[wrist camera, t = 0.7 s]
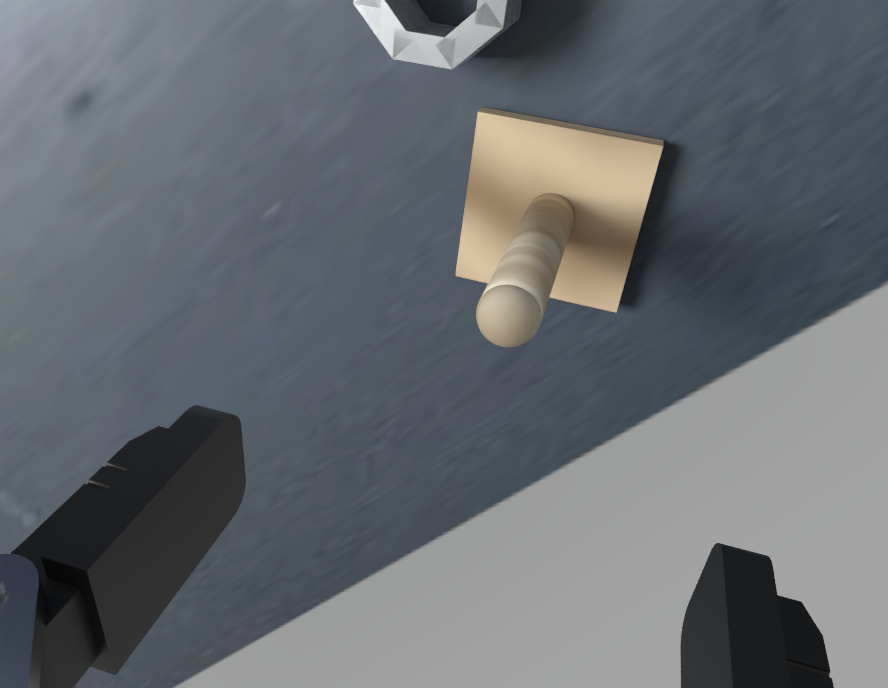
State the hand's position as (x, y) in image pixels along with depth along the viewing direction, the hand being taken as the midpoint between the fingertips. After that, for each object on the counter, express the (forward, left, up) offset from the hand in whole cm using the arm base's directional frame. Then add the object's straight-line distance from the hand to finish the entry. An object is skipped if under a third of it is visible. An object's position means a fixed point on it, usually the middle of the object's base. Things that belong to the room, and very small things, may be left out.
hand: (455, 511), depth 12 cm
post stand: (+3, -1, -23) cm, 24 cm away
